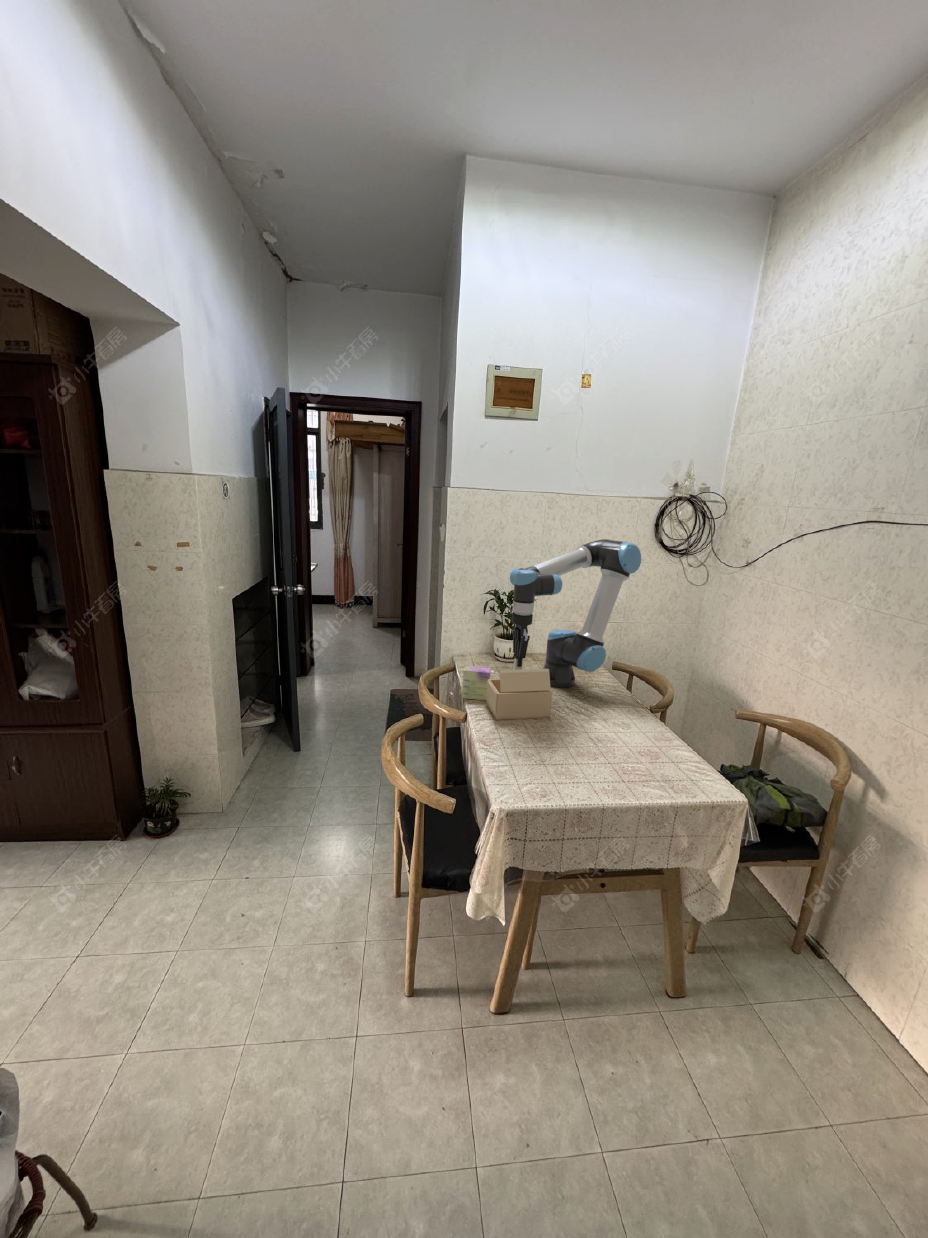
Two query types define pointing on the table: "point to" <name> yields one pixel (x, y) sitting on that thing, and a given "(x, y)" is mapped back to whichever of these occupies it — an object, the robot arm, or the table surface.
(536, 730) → the table surface
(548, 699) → the carton
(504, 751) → the table surface
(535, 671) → the flap
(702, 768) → the table surface
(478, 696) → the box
